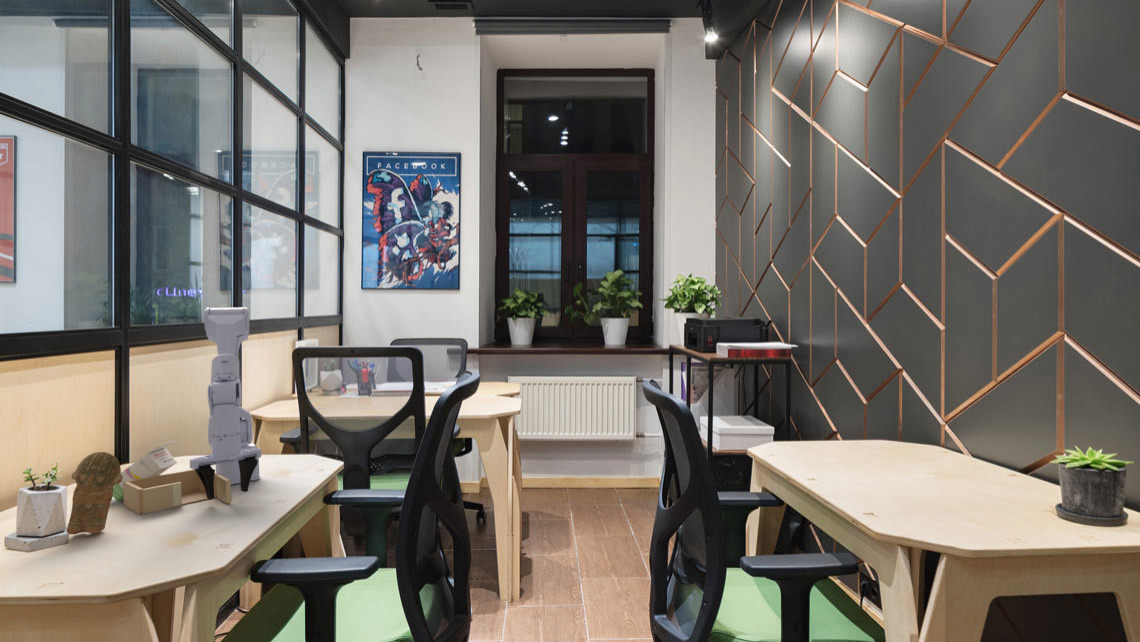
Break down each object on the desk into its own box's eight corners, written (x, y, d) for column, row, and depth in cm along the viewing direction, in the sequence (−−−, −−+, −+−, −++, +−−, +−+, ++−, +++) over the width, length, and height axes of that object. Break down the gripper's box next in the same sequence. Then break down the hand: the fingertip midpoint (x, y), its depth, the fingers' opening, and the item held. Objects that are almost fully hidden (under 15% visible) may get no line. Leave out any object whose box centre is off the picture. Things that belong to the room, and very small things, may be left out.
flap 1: (180, 504, 144) (179, 482, 144) (182, 505, 143) (181, 482, 143) (143, 512, 138) (142, 489, 138) (144, 513, 138) (143, 489, 138)
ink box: (116, 502, 148) (172, 461, 149) (102, 485, 147) (158, 444, 149) (136, 493, 156) (189, 454, 158) (123, 477, 156) (176, 438, 157)
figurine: (65, 542, 122) (62, 462, 121) (74, 529, 129) (72, 454, 129) (119, 534, 126) (117, 456, 125) (126, 522, 133) (123, 449, 133)
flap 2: (217, 497, 149) (216, 475, 149) (221, 496, 150) (220, 474, 150) (226, 503, 144) (226, 480, 144) (231, 502, 144) (230, 480, 144)
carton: (201, 489, 157) (200, 467, 157) (219, 497, 150) (218, 474, 150) (123, 505, 145) (123, 482, 145) (139, 514, 138) (138, 489, 138)
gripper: (197, 441, 138) (199, 505, 138) (266, 431, 149) (268, 490, 149) (185, 438, 142) (187, 499, 143) (253, 428, 153) (254, 485, 154)
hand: (227, 494), depth 146 cm, fingers open, 7 cm apart
